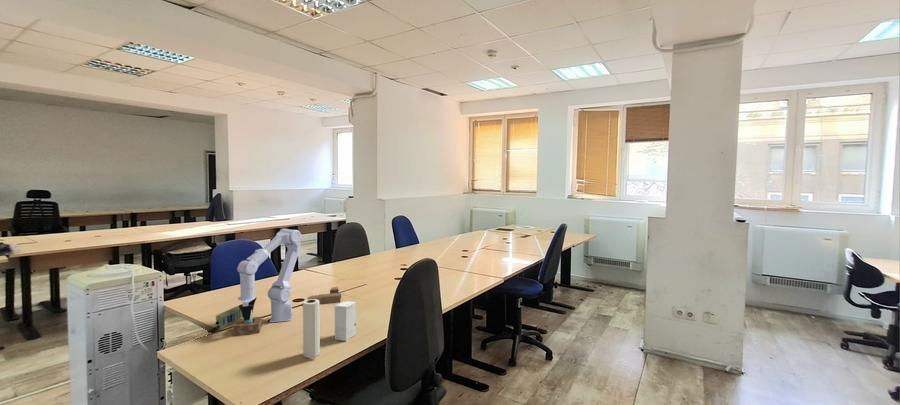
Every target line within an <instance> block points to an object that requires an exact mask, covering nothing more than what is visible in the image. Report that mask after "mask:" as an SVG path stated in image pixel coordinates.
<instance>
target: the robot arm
mask: <svg viewBox="0 0 900 405" xmlns="http://www.w3.org/2000/svg"><path fill="white" fill-rule="evenodd" d="M302 238H303V235H302V233H301V231H300V230H297V229H288V228H282V229H280V230H279V231H277V232H276V235H275V236H274V237H273V238H272V239H271V240H270V241H269V242H268V243H267V244H266V245H265V246H264V247H263V248H258V249H255V251H254V253H252V254H251V255H250V256H249V257H247V258H246V259H245V260H242V261H240V262H239V264H238V266H237V267H236V271H237V272H238V273H239V278H240V281H239V283H240V296H239V297H237V301H241V302H242V304H243V305H241V304H239V305H238V306H239V309H240V310H241V312H242V314H243V318H244V321H246V320H250V316H251V310H252V314H253V313H254V307H255V303H256V300H257V297H256V286H255V285H256V282H255V281H256V280H255V278H256V277H255V276H256V275H255V273H256V272H257V271H258V268H259V266H261V264H262V263H264V262H265V261H266V260H267V259H268V258H269V254H270V253H271V252H273V251H274V250H275V249H276V248H278V247H279V246H281V245H282V244H284V246H286V248H287V251H286V254H285V257H284V259H283V262H282V265H281V268H280V271H279V274H278V276H277V279H276V280H275V281H274V282H273V283H271V286H270V288H269V289H268V291H267V297H268V299H269V300H270V305H271V306H270V308H271V309H270V311H271V312H270V313H271V314H270V319H269V323H278V322H290V321H292V317H293V301H292V300H290V297H291V295H292V294H291V290H292V286H291V284H290V280H291V277H292V275H293V271H294V268H295V265H296V262H297V260H298V257H299V254H300V250H301V242H302Z"/></svg>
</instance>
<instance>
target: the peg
mask: <svg viewBox="0 0 900 405" xmlns="http://www.w3.org/2000/svg"><path fill="white" fill-rule="evenodd" d="M252 317H253V313H252V310H251V316H250V320H246V321H244V324H247V323H252Z"/></svg>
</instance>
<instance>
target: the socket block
mask: <svg viewBox="0 0 900 405" xmlns="http://www.w3.org/2000/svg"><path fill="white" fill-rule="evenodd" d="M262 326H263V316H255V317H253V316H252V323H247V324H244V318H242V319H238V320H237V322H235V323H234V324H233V336H234V337H235V336H244V335H254V334H260V332H261V330H262Z"/></svg>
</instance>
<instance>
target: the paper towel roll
mask: <svg viewBox="0 0 900 405" xmlns="http://www.w3.org/2000/svg"><path fill="white" fill-rule="evenodd" d="M320 305H321V304H319V300H317V299H309V300H308V299H306V300H303V302H302V335H303V336H302V342H303V343H302V345H303V346H302V348H303V351H302V352H303V356H304V358H308V359H314V360H316V357H317V356H319V355H320V353H321V351H320V348H321V346H320V345H321V343H320V338H321V336H320V335H321V332H320V328H321V327H320V325H321V324H320V321H321V320H320V318H321V315H320V313H321V312H320V309H321V308H320Z"/></svg>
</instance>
